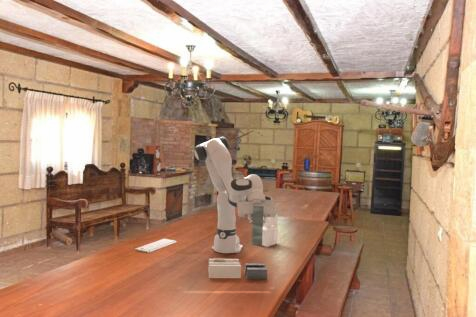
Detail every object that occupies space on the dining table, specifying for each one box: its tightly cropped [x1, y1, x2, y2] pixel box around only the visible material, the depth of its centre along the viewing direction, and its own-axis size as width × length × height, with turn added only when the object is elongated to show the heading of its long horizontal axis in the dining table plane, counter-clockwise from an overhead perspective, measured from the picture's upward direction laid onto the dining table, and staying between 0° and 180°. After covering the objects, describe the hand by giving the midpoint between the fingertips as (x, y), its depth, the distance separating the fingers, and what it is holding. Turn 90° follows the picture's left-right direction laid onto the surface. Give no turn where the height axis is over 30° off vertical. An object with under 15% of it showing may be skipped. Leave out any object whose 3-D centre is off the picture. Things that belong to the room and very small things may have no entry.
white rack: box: [207, 258, 242, 279], centre depth 212 cm, size 13×16×7 cm
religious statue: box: [260, 213, 279, 248], centre depth 277 cm, size 17×14×30 cm
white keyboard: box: [134, 238, 178, 254], centre depth 263 cm, size 31×3×12 cm
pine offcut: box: [213, 257, 225, 262], centre depth 214 cm, size 3×5×7 cm, turn 96°
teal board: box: [251, 205, 264, 246], centre depth 209 cm, size 2×5×20 cm, turn 96°
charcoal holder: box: [244, 262, 268, 281], centre depth 210 cm, size 10×10×6 cm
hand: (257, 223), depth 208 cm, fingers closed on teal board, 5 cm apart
